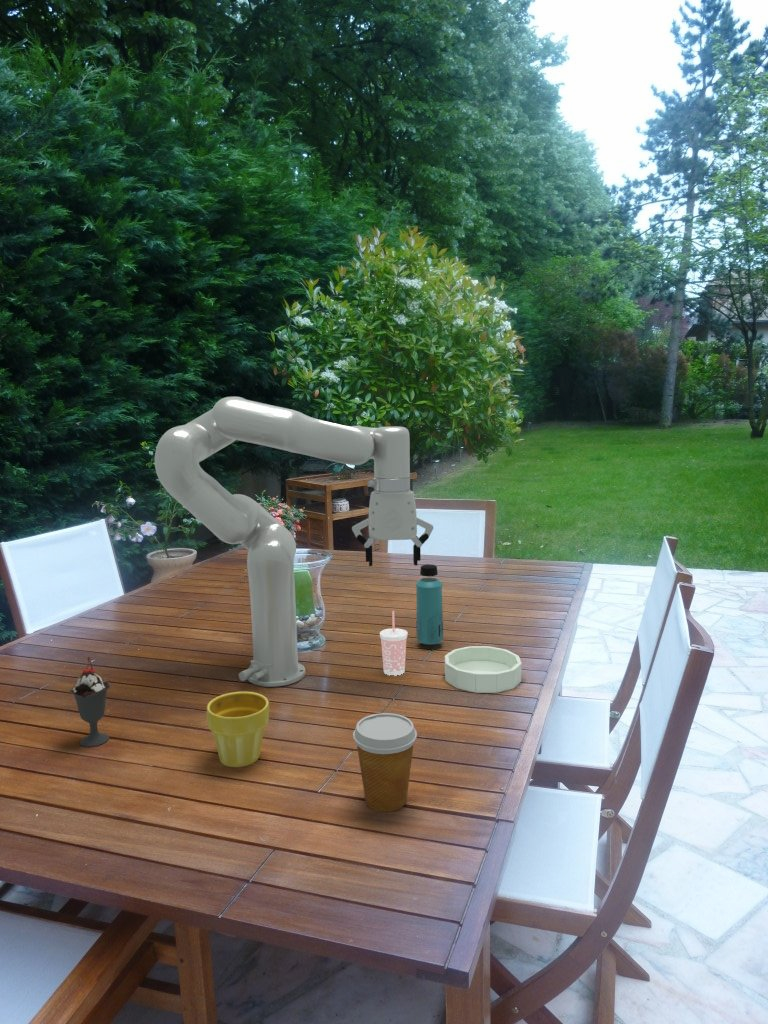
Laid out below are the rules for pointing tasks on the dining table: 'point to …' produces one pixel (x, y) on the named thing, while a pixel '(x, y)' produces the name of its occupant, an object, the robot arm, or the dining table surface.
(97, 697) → the sundae
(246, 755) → the plant pot
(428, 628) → the beverage bottle
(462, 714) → the dining table surface
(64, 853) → the dining table surface
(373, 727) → the disposable coffee cup
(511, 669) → the bowl
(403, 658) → the beverage cup
